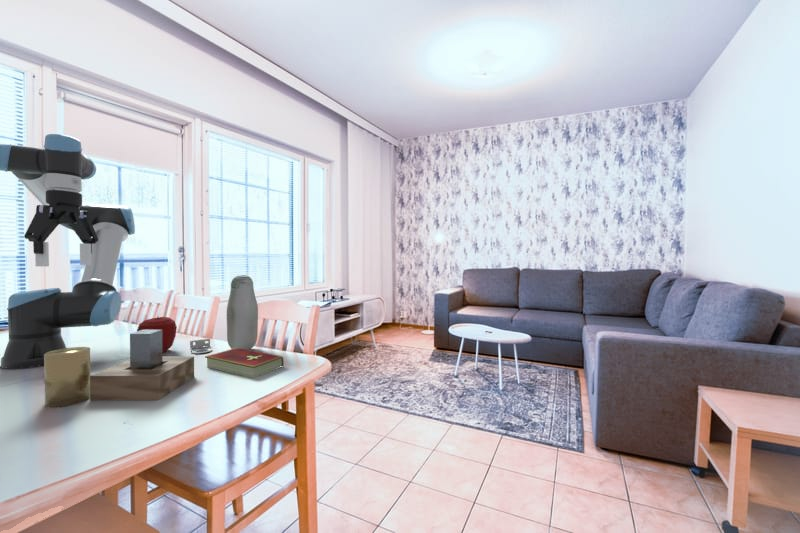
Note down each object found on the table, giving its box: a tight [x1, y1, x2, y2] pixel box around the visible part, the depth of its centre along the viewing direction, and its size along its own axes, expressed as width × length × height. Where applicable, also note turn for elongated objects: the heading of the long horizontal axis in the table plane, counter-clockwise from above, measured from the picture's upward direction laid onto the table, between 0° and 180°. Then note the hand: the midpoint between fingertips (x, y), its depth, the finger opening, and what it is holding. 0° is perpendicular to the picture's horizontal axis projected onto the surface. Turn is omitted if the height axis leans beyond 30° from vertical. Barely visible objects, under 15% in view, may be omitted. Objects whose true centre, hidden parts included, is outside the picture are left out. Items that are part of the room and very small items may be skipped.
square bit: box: [129, 330, 163, 370], centre depth 92 cm, size 5×5×14 cm
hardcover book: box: [204, 348, 285, 379], centre depth 110 cm, size 12×21×4 cm, turn 64°
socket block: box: [89, 355, 195, 401], centre depth 92 cm, size 16×16×6 cm
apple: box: [136, 316, 178, 354], centre depth 124 cm, size 12×12×13 cm
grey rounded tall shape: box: [226, 274, 259, 350], centre depth 127 cm, size 10×10×28 cm
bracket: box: [189, 338, 213, 355], centre depth 127 cm, size 7×10×4 cm, turn 34°
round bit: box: [43, 346, 92, 409], centre depth 84 cm, size 8×8×12 cm
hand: (65, 265), depth 100 cm, fingers open, 13 cm apart
